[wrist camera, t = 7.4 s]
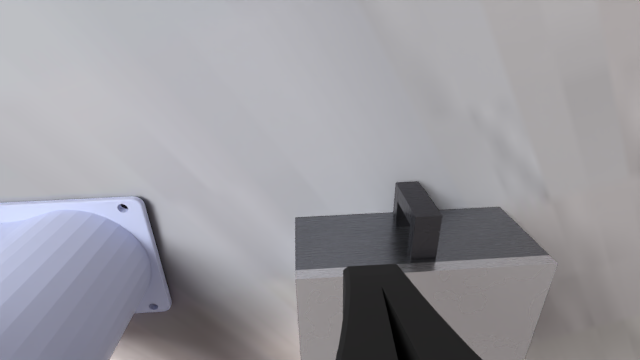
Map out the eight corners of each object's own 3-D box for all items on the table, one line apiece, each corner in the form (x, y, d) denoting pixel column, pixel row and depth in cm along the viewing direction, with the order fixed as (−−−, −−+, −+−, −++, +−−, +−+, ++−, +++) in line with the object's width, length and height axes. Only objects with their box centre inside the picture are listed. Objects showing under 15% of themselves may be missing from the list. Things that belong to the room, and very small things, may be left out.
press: (304, 358, 25) (305, 435, 21) (293, 180, 19) (292, 234, 14) (466, 347, 26) (503, 419, 21) (508, 169, 20) (573, 219, 15)
